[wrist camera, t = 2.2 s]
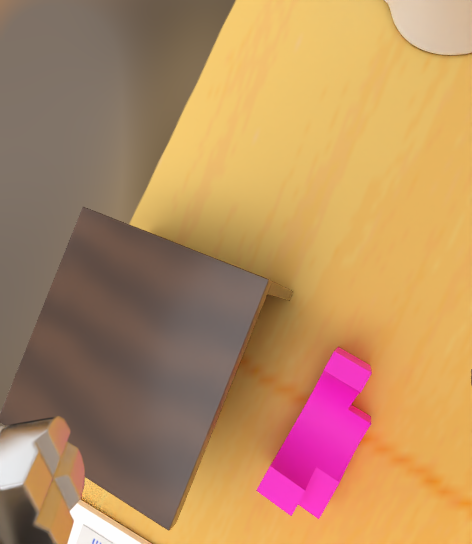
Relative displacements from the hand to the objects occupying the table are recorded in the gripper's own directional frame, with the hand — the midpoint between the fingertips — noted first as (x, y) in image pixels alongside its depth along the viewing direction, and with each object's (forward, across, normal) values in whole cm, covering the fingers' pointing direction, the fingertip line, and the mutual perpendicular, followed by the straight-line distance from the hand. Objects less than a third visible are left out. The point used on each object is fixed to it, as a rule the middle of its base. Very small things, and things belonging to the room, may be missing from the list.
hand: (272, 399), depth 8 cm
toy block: (+28, -7, +29) cm, 41 cm away
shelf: (+37, +9, +22) cm, 44 cm away
